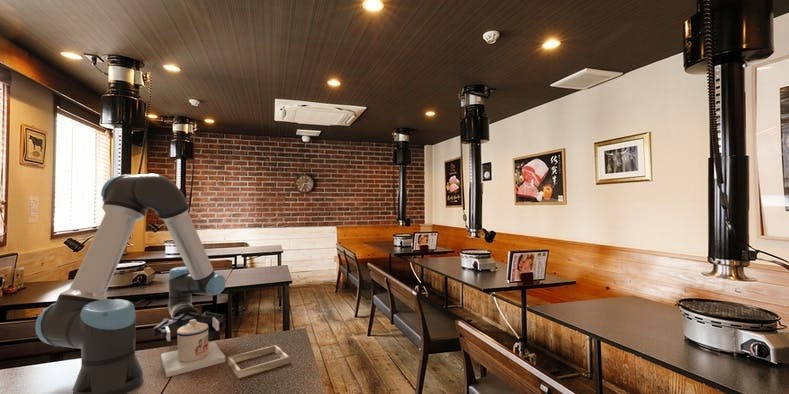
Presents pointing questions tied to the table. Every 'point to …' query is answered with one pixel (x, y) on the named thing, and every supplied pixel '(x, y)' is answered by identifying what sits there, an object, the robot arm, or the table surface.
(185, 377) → the table surface
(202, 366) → the ceramic board
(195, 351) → the teacup with lid
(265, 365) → the cup holder
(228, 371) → the table surface
